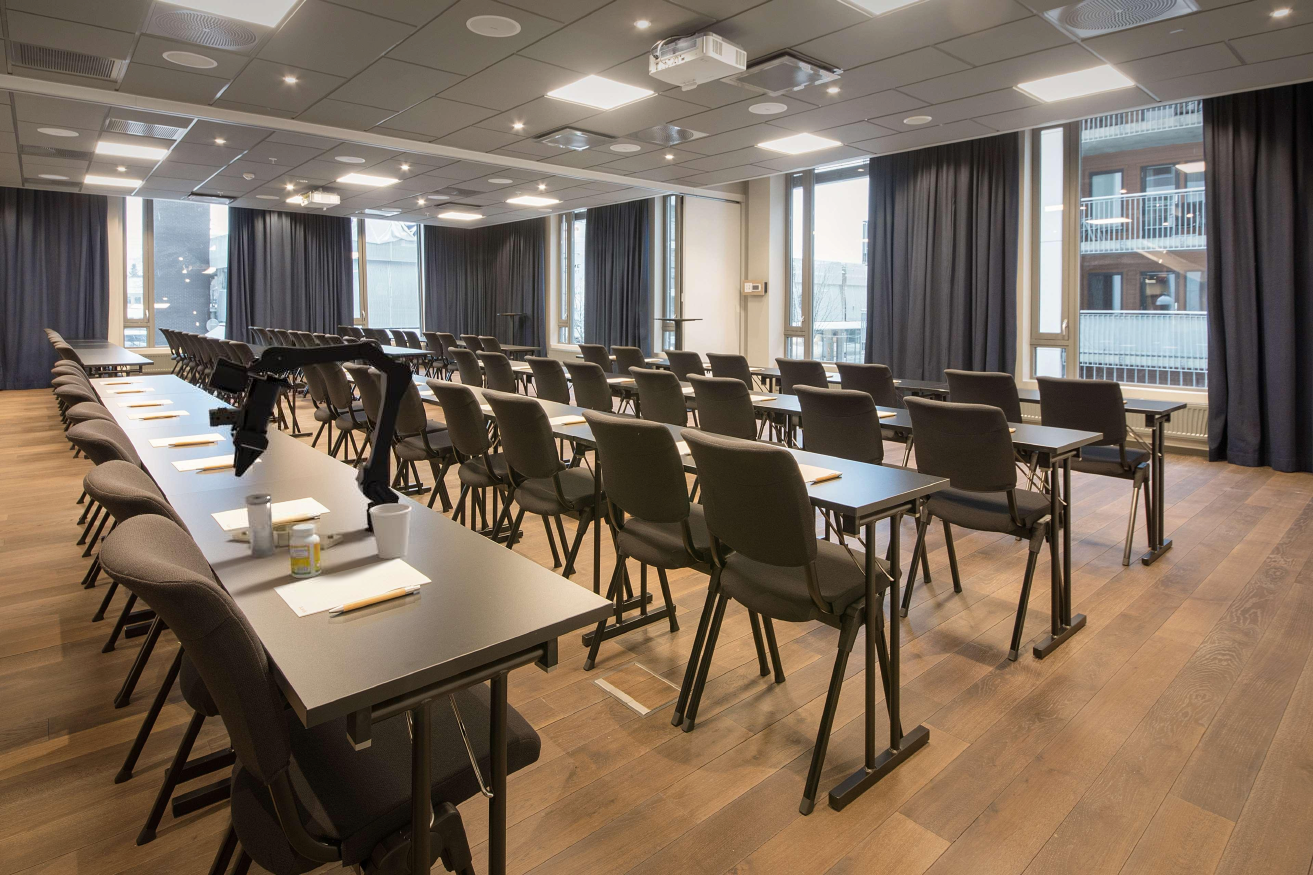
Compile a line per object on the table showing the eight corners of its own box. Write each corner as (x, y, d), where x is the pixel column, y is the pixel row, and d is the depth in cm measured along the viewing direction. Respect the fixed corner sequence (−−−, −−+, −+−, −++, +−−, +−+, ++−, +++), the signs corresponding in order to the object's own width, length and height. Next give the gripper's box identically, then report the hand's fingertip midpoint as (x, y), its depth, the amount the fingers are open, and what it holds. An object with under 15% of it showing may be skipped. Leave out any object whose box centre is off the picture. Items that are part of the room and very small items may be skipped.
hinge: (346, 539, 172) (345, 526, 171) (321, 550, 164) (320, 537, 163) (256, 531, 178) (255, 518, 177) (229, 541, 170) (227, 528, 170)
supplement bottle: (299, 580, 146) (295, 532, 145) (286, 574, 150) (282, 526, 148) (327, 573, 150) (323, 525, 149) (313, 567, 154) (310, 520, 152)
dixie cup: (402, 545, 168) (399, 501, 166) (420, 554, 162) (418, 508, 160) (364, 554, 162) (361, 508, 160) (382, 563, 156) (380, 515, 154)
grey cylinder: (281, 551, 163) (276, 494, 161) (264, 559, 158) (259, 500, 156) (262, 550, 164) (257, 493, 162) (244, 556, 160) (239, 498, 158)
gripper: (217, 386, 167) (194, 455, 167) (219, 395, 151) (193, 471, 151) (272, 402, 173) (249, 468, 173) (279, 412, 157) (254, 484, 157)
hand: (236, 472), depth 163 cm, fingers open, 9 cm apart
